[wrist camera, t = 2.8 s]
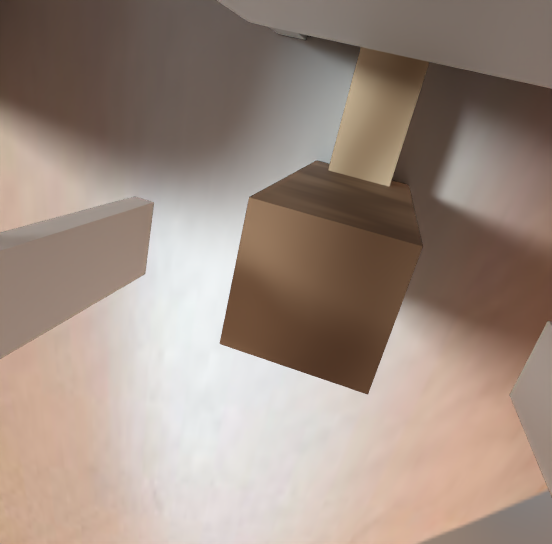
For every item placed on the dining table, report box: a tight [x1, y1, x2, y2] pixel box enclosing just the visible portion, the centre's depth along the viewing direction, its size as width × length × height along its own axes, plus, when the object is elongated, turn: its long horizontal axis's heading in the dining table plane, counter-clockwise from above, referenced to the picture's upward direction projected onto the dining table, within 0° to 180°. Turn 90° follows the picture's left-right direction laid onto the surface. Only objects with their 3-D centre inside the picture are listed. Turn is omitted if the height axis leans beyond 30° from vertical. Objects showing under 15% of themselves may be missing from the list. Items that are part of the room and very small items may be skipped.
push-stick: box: [220, 47, 429, 394], centre depth 16 cm, size 5×20×12 cm, turn 167°
